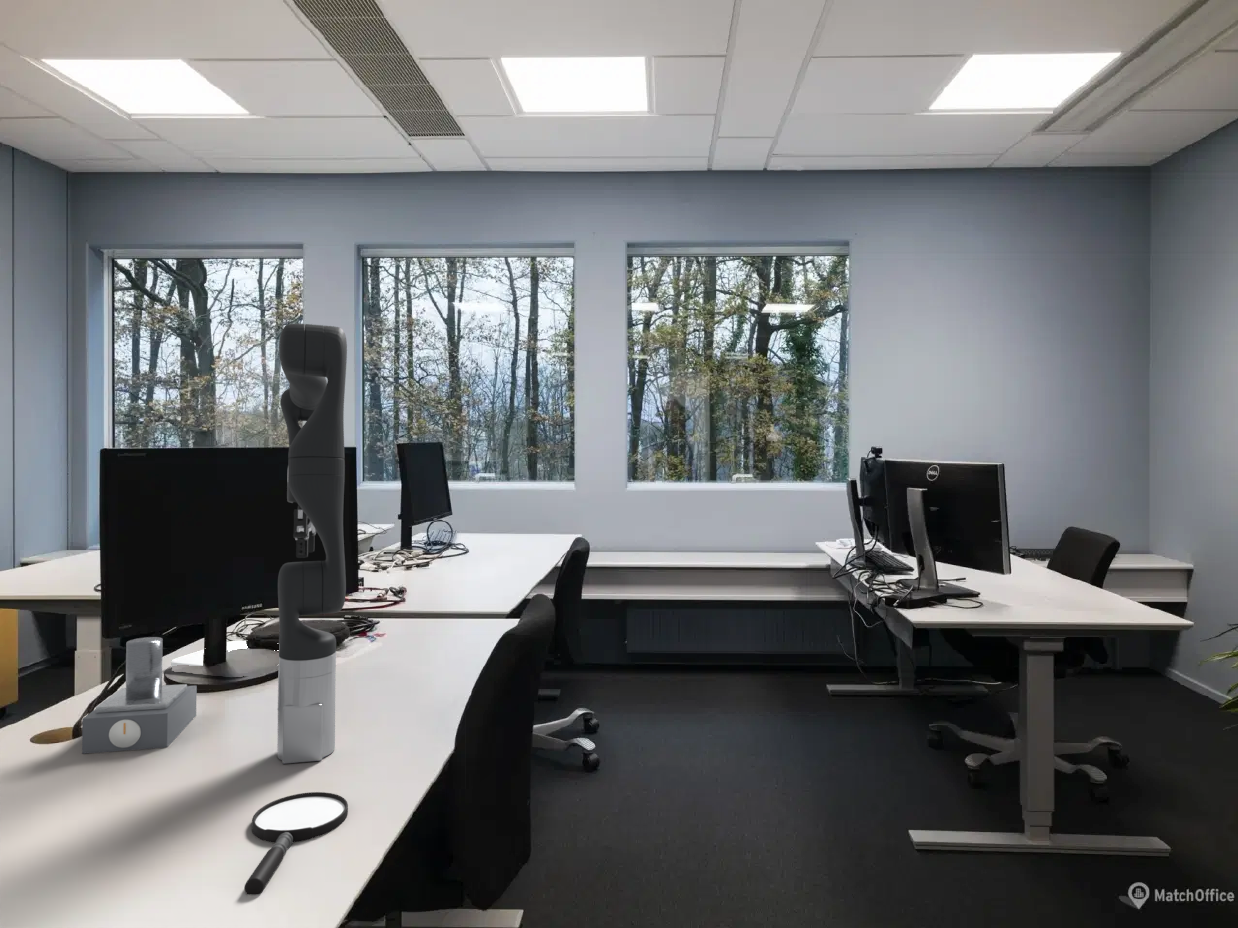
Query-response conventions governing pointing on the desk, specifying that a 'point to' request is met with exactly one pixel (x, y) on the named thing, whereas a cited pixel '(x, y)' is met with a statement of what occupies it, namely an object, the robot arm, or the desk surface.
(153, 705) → the scale pan
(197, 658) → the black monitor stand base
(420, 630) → the desk surface
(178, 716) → the scale base
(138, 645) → the cylinder
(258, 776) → the desk surface
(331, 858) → the desk surface
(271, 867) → the magnifying glass
